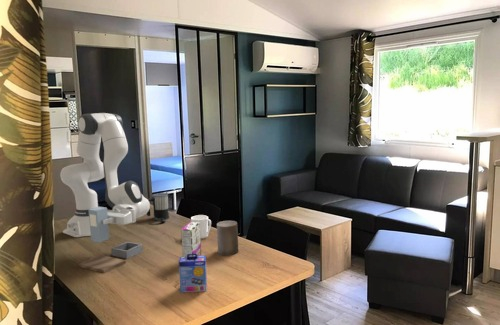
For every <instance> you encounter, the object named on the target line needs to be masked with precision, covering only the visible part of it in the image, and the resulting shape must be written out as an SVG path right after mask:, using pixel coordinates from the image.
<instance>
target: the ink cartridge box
mask: <svg viewBox="0 0 500 325" xmlns="http://www.w3.org/2000/svg"><path fill="white" fill-rule="evenodd" d="M190 255H195V256H190ZM206 258H207V257H206V255H202V254H201V256H197V253H196V254H187V256H183V255H182V256H180V257H179V260H178V272H179V292H180V293H194V292H195V293H197V292H198V293H199V292H207V290H208V279H207V276H208V275H207V259H206Z"/></svg>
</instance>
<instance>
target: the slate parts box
mask: <svg viewBox="0 0 500 325" xmlns="http://www.w3.org/2000/svg"><path fill="white" fill-rule="evenodd" d="M107 210H108V208H107V207H106V206H105V207H104V206H99V207H96V208H92V209H89V221H90V232H91V236H90V240H91V242H92V243H93V242H95V243H102V242H104V241H107V240H110V231H109V223H107V224H102V223H101V220H103V219H108V215H107Z"/></svg>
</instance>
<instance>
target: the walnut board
mask: <svg viewBox="0 0 500 325" xmlns="http://www.w3.org/2000/svg"><path fill="white" fill-rule="evenodd" d="M126 263H127V262H126V260H125V259H123V258H122V259H120V258H118V257H117V258H116V257H112V256H107V255H103V254H98V255H97V256H94V257H91V258H88V259H87V260H85V261H82V262H79V263H78V268H83V269H88V270H91V271H95V272H99V273H102V274H105V273H107V272H109V271H111V270H114V269H115V268H116V269H117V268H118V267H120V266H123V265H124V264H126Z"/></svg>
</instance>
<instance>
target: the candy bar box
mask: <svg viewBox="0 0 500 325" xmlns="http://www.w3.org/2000/svg"><path fill="white" fill-rule="evenodd" d="M180 233H181V234H180V235H181V247H182V248H181V249H182V250H181V251H182V257H183V256H187V254H196V253H197V256H202V244H201V243H202V242H201V241H202V239H200V223H199V222H191V221H190V222H188V223H187V224H186V225H185V226H183V227H182V228H181V229H180ZM190 256H195V255H190Z"/></svg>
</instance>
